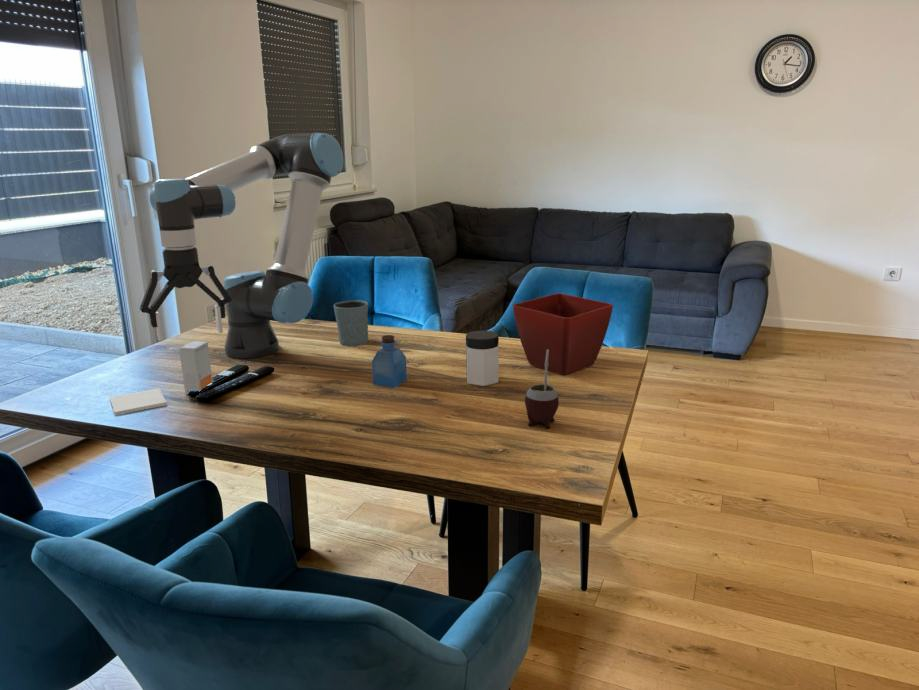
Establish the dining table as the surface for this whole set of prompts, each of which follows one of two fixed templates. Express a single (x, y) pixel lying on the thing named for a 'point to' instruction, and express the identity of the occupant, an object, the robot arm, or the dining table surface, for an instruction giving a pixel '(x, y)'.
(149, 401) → the coaster
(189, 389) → the skincare box
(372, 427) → the dining table surface
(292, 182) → the robot arm
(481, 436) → the dining table surface
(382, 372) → the perfume bottle
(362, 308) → the grey cup
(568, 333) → the plant pot
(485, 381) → the jar
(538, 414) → the mate gourd
